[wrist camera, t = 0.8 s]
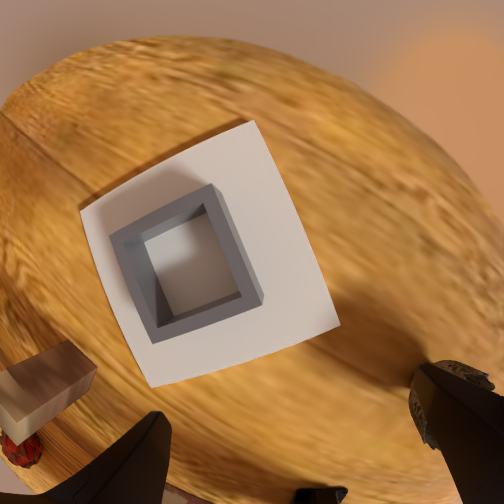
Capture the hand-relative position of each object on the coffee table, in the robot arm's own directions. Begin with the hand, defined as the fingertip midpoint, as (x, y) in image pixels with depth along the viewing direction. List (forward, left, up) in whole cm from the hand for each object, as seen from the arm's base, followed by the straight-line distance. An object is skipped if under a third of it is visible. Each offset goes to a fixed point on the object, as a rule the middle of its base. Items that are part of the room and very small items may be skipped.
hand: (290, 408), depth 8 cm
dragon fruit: (-33, +36, -14) cm, 52 cm away
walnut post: (-11, +20, -14) cm, 27 cm away
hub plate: (+3, +7, -14) cm, 16 cm away
